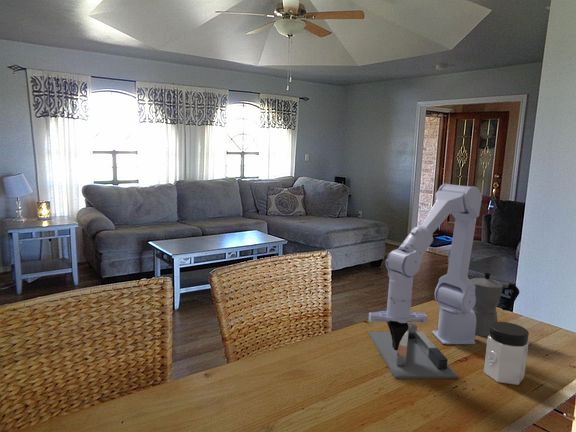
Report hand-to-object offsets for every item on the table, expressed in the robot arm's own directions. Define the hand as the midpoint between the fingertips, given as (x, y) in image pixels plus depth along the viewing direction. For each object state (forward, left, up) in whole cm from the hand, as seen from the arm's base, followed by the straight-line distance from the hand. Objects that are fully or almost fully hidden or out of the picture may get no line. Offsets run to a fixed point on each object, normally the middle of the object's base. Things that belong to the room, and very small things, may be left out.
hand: (395, 348), depth 110 cm
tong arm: (-5, -3, -2) cm, 6 cm away
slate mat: (-5, -2, -3) cm, 6 cm away
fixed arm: (-9, -1, -2) cm, 10 cm away
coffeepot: (-33, -16, -3) cm, 37 cm away
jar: (-24, +9, -3) cm, 26 cm away
